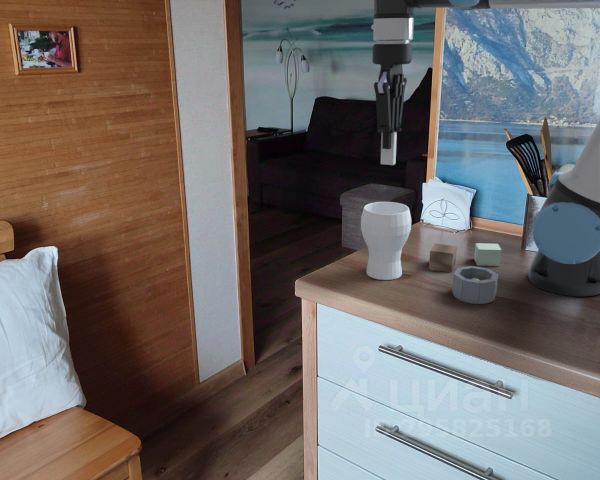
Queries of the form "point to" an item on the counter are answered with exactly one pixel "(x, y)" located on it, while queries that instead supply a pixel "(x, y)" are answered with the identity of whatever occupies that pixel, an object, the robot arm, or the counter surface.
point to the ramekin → (475, 285)
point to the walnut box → (442, 257)
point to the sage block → (487, 254)
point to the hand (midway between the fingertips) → (388, 163)
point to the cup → (385, 237)
